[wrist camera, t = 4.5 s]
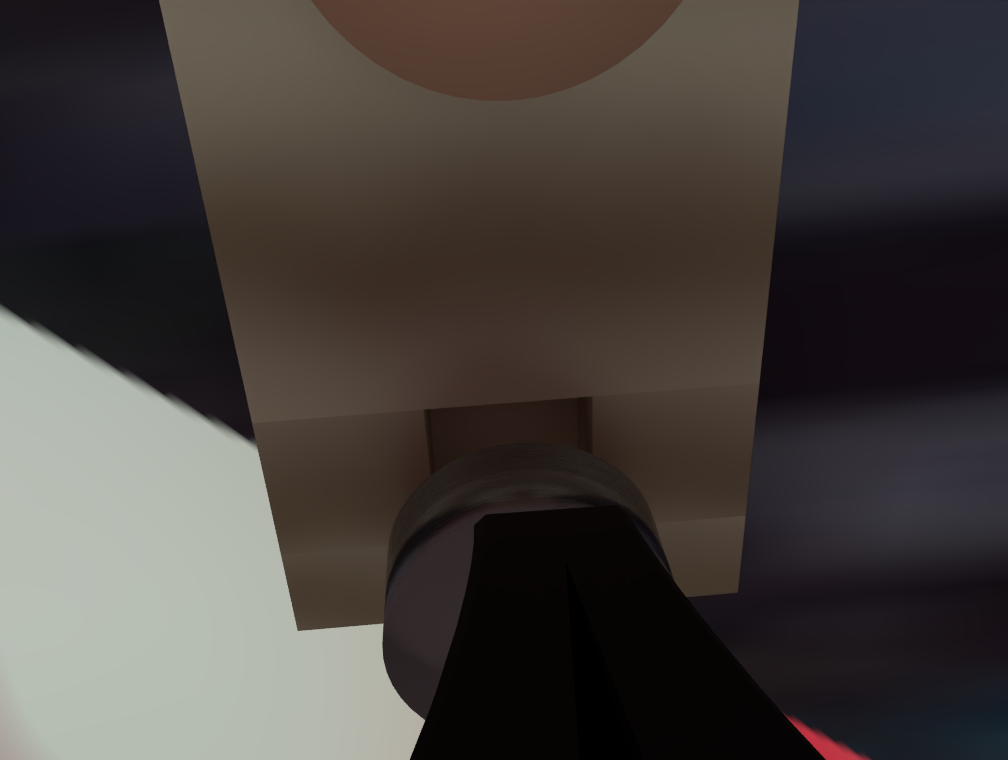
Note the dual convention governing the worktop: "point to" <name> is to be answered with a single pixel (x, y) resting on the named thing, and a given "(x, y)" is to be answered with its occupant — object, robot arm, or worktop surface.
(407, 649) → the knob
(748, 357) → the knob bar
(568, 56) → the pot knob
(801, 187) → the worktop surface
